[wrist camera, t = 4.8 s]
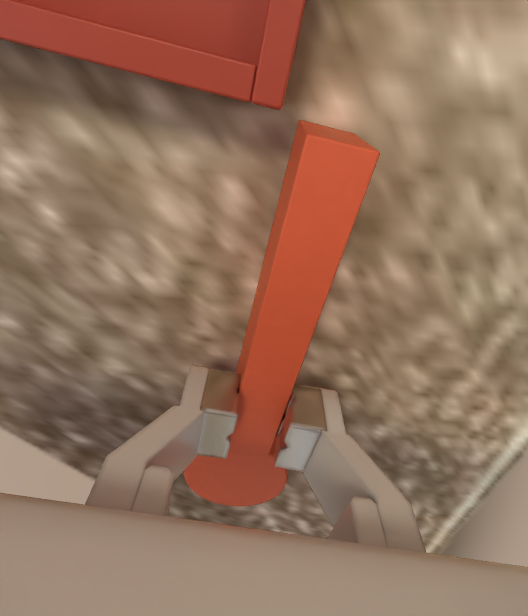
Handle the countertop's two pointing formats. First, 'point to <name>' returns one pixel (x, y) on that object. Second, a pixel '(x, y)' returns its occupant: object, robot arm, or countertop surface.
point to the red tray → (171, 40)
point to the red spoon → (288, 306)
